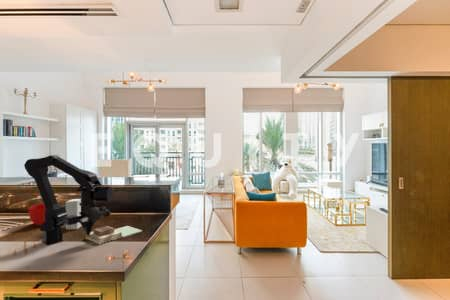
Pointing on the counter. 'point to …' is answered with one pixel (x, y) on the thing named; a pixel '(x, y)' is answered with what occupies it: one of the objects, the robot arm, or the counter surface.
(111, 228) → the walnut tile
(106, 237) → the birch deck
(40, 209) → the ceramic cup
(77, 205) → the skincare box
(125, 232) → the sage mat
